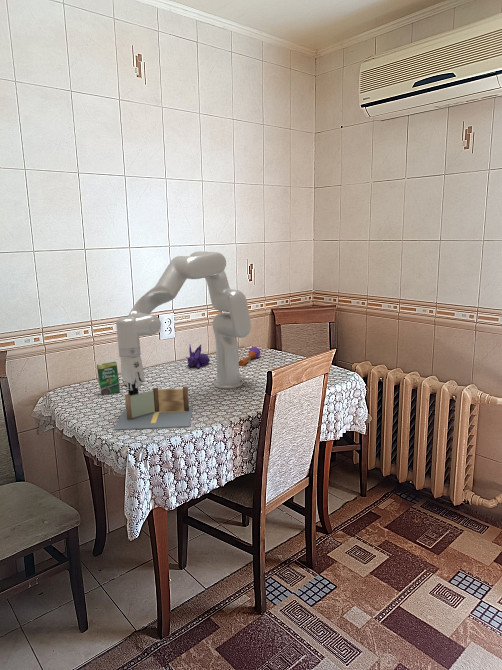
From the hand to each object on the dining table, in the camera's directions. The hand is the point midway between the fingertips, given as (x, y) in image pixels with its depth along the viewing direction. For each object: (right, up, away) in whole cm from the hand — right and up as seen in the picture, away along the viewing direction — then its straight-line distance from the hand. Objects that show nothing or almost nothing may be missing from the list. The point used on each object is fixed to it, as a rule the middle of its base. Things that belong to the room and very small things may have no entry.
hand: (134, 399), depth 181 cm
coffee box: (-17, -1, +27) cm, 32 cm away
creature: (+16, +8, +64) cm, 66 cm away
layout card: (+8, -6, -2) cm, 10 cm away
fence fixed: (+13, -5, +4) cm, 15 cm away
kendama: (+42, +10, +71) cm, 83 cm away
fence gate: (+3, -5, 0) cm, 6 cm away
